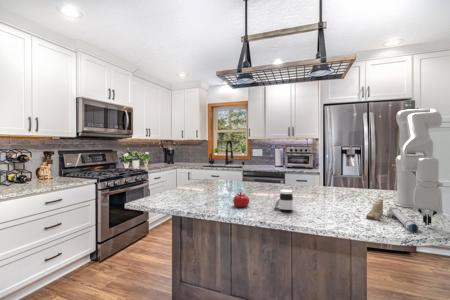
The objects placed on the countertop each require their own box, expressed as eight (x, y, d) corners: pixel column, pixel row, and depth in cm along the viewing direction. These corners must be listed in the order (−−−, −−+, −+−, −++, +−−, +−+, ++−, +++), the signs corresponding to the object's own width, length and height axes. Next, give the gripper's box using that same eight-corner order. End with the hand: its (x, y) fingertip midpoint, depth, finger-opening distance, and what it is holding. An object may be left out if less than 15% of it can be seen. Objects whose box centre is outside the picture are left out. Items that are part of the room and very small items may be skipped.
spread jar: (293, 213, 134) (293, 192, 134) (272, 212, 137) (272, 191, 137) (292, 207, 146) (292, 188, 146) (273, 206, 149) (273, 188, 148)
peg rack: (371, 211, 136) (371, 197, 135) (383, 213, 132) (383, 199, 132) (366, 218, 123) (366, 203, 123) (378, 220, 120) (378, 204, 120)
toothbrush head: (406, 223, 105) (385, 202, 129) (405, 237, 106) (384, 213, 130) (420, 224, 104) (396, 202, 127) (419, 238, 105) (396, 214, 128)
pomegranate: (251, 208, 147) (251, 193, 147) (236, 209, 144) (236, 193, 144) (245, 204, 156) (245, 189, 156) (231, 204, 154) (231, 190, 153)
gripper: (449, 185, 108) (448, 225, 108) (407, 182, 117) (407, 219, 118) (450, 187, 102) (449, 230, 102) (406, 184, 112) (406, 223, 112)
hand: (427, 224), depth 110 cm, fingers closed
